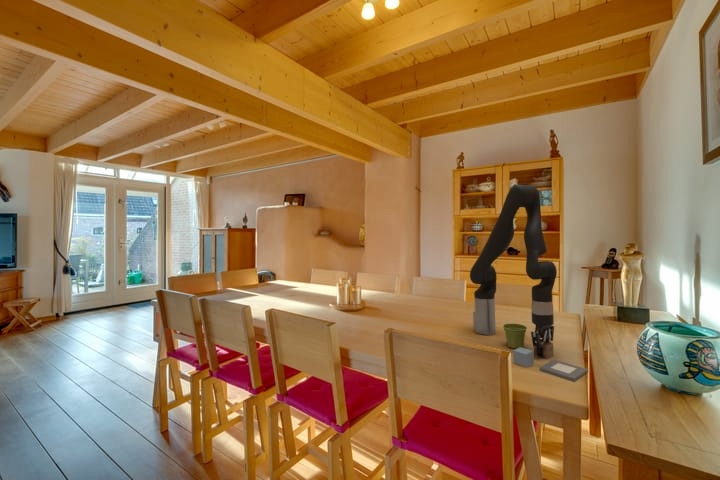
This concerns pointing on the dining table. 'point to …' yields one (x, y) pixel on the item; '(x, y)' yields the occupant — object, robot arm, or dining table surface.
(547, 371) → the plate
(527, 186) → the robot arm
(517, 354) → the blue block
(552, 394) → the dining table surface
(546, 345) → the walnut block
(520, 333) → the plant pot
